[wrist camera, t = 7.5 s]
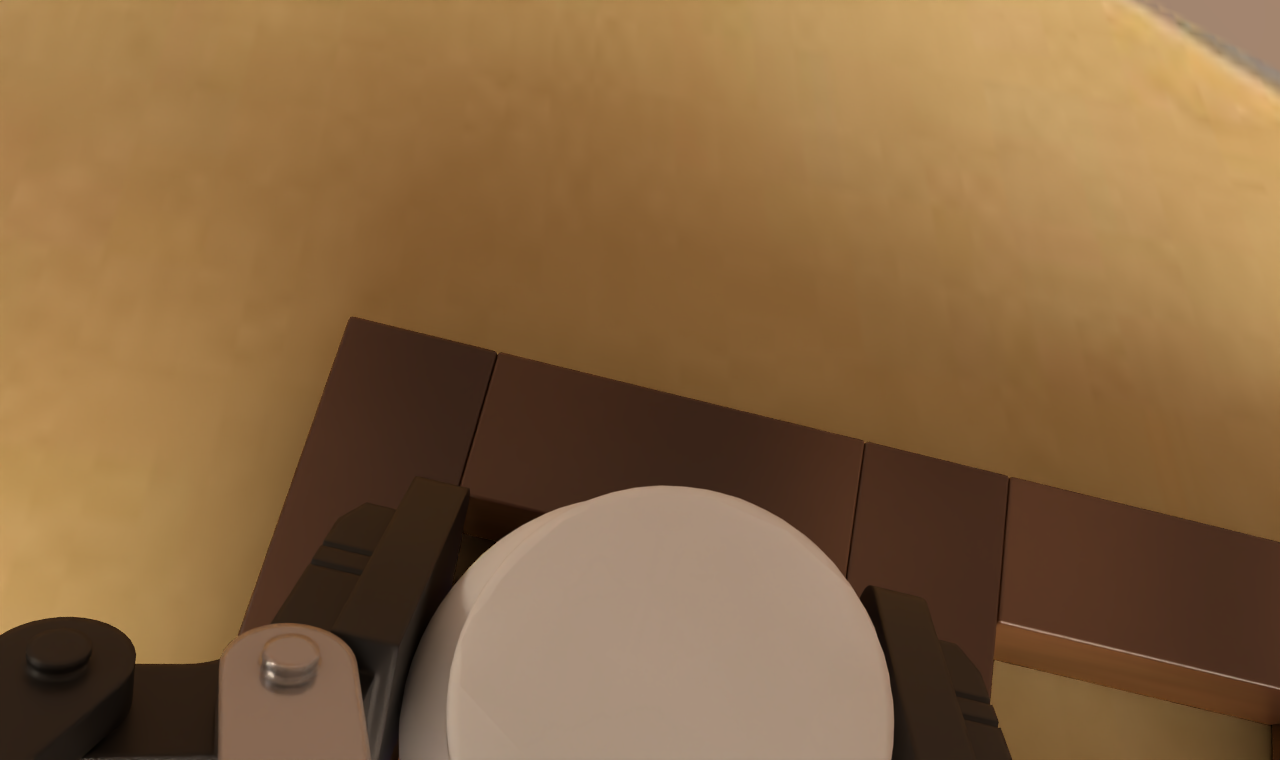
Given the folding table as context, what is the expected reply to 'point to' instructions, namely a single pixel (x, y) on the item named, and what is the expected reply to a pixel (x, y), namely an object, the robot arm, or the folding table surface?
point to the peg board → (800, 515)
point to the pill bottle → (650, 642)
